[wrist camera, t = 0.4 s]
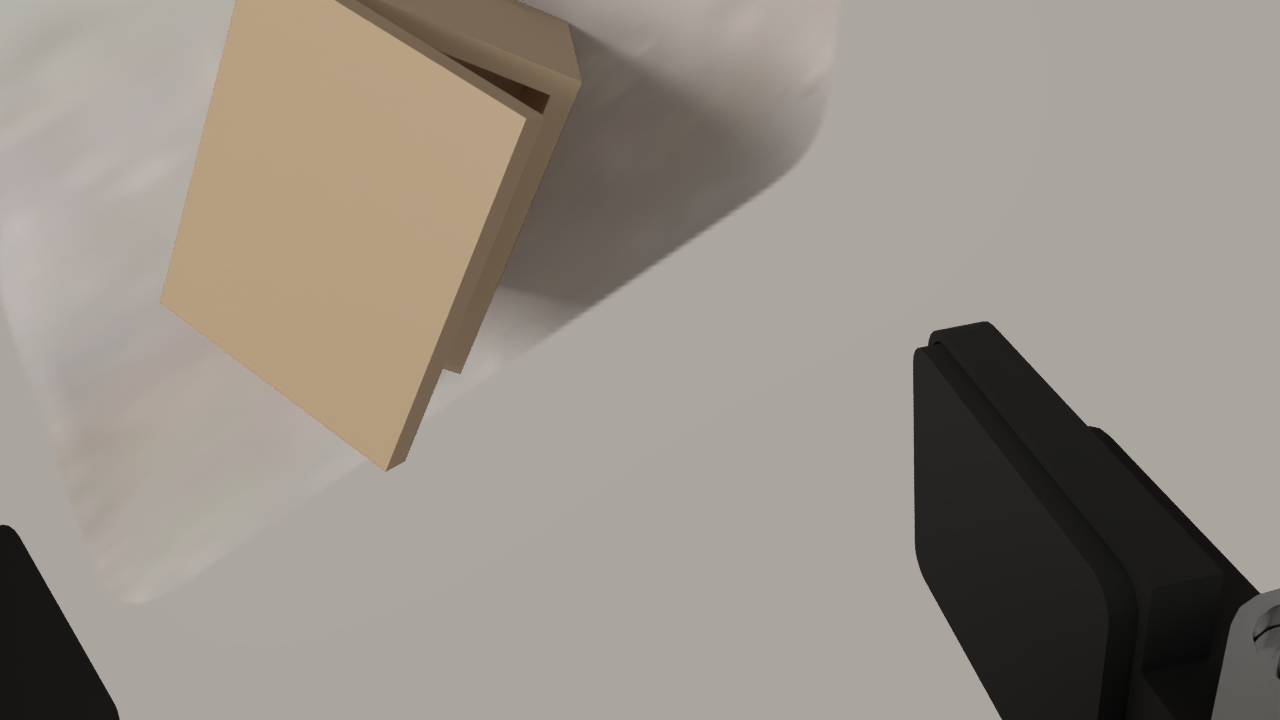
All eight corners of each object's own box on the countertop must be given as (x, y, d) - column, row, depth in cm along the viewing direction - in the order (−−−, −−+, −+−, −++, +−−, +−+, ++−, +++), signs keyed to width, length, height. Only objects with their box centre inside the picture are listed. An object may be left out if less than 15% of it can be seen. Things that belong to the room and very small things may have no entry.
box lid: (274, -50, 31) (249, -53, 30) (545, 116, 29) (526, 118, 28) (183, 296, 36) (159, 302, 35) (404, 461, 34) (385, 471, 33)
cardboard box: (312, -86, 38) (273, -44, 31) (567, 22, 41) (582, 82, 34) (234, 201, 43) (185, 290, 36) (465, 278, 46) (460, 374, 39)
